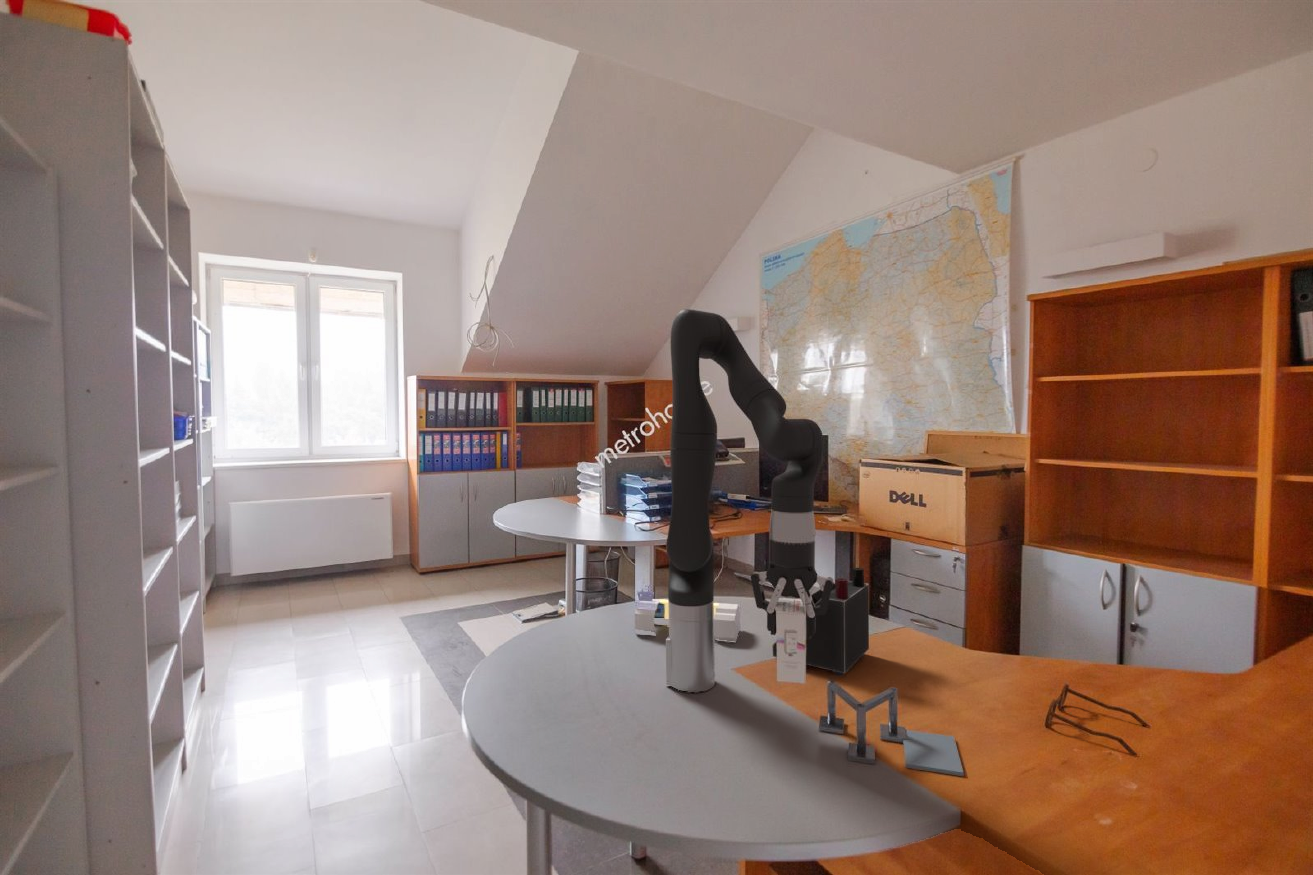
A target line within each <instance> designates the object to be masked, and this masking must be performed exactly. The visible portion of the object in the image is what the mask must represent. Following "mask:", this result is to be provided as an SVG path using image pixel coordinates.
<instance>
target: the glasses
mask: <svg viewBox="0 0 1313 875" xmlns="http://www.w3.org/2000/svg"><path fill="white" fill-rule="evenodd" d="M1068 693H1070V694H1072V695H1074V696H1076V697H1079V698H1081V699H1083V700H1086V701H1088V702H1090V703H1093V704H1094V705H1098V706H1099V707H1102V708H1104V709H1107V710H1112V711H1116V712H1120V713H1123V714H1126V715H1130V716H1131V717H1132V718H1133V719H1135V720H1136V721H1137V722H1138V723H1139V724H1141V726H1143V725H1144V726H1143V727H1145V726H1148V727H1151V725H1149V724H1148V723H1147V722H1146V721H1145V720H1143V719H1142V718H1141V717H1140V716H1139V715H1137V714H1136V713H1135V712H1133V711H1131V710H1129V709H1125V708H1123V707H1120V706H1114V705H1110V704H1107V703H1104V702H1102V701H1099V700H1098V699H1095V698H1093V697H1090V696H1088V695H1086V694H1083V693H1081V692H1078V691H1077V690H1073V689H1071V688H1070V686H1069V684H1068V683H1065V684H1064V686H1063V688H1062V690H1061V693H1060V694H1059V695H1058V696H1057V698H1056V699H1052V701H1051V703H1050V705H1049V707H1048V710H1047V714H1046V717H1045V722H1044V726H1045V727H1047V728H1048V727H1049V726H1050V725H1051V723H1052V721H1053V719H1054V718H1055V719H1057V720H1058V721H1061V722H1063V723H1065V724H1068V725H1069V726H1072V727H1075V728H1076V729H1079V730H1081V731H1083V732H1086V733H1088V734H1090V735H1092V736H1096V737H1104V738H1108V739H1110V740H1114V741H1117V742H1118V743H1119V744H1120V745H1121V746H1122V748H1124V749H1125V750H1126V751H1127V752H1128V753H1129V754H1130V753H1131V754H1134V755H1138V754H1137V752H1135V750H1133V748H1132V747H1131V746H1129V744H1128V743H1127V742H1126V741H1125V740H1123V739H1122V738H1121V737H1119V736H1115V735H1114V734H1111V733H1107V732H1102V731H1096V730H1093V729H1091V728H1089V727H1086V726H1085V725H1082V724H1080V723H1077V722H1076V721H1073V720H1071V719H1069V718H1066V717H1064V716H1062V715H1060V714H1057V713H1056V710H1061V709H1062V708H1063V707H1064V706H1065V705H1064V704H1065V702H1066V699H1067V696H1068ZM1056 708H1057V709H1056ZM1148 727H1147V728H1148ZM1131 754H1130V755H1131ZM1134 755H1133V756H1134Z"/></svg>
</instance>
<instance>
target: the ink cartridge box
mask: <svg viewBox="0 0 1313 875" xmlns="http://www.w3.org/2000/svg"><path fill="white" fill-rule="evenodd" d="M803 599H804V605H803V603H802V601H801V598H790V597H789V598H787V597H780V599H779V601H778V603H777V606H776V608H775V610H776V634H775V635H776V641H777V657H776V682H781V683H782V682H784V683H793V684H794V683H796V684H806V682H807V681H806V677H807V676H806V675H807V674H806V673H807V664H806V608H805V595H804V592H803Z"/></svg>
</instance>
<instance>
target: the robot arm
mask: <svg viewBox="0 0 1313 875" xmlns="http://www.w3.org/2000/svg"><path fill="white" fill-rule="evenodd" d="M700 359H704V360H712V361H714V362H715V363H716V364H717V365H718V366H720V368H722V369H723V371H724V372H725V373H726V376H727V382H728V390H729V394H730V396H731V398H732V399H733V401H734V403H735V404H736V406H738V408H739V409H740V410H741V412H742V413H743V414H744V415H745V416H746V418H747V419H748V420H749V422H751V425H752V428H753V430H754V433H755V435H756V437H757V441H758V442H759V445H760V447H761V449H762V451H763V452H764V453H765V454H766V455H767V456H768V457H770V458H771V459H773V460H775V461H779V462H788V463H787V465H786V470H785V471H784V472H783V473H781V474H778V475H776V476H775V477H774V478H773V479H772V482H771V503H770V504H771V505H770V506H771V508H770V509H771V511H770V516H769V517H770V518H769V546H768V547H769V551H768V552H769V553H768V554H769V559H768V560H769V562H768V564H769V566H768V568H767V570H766V571H759V570H755V571H754V572H753V573H752V574H751V575H750V581H751V586H752V589H753V590H752V591H753V595H754V601H755V605H756V608H757V609H760V610H763V611H765V612H766V624H767V625H766V630H767V631H768V632H770V635H771V636H775V635H776V607H777V603H778V601H779V599H780V598H787V597H792V598H794V599H801V601H802V603H803V605H804V599H803V592H804V595H805V608H806V612H807V617H806V639H811V636H814V634H815V631H816V616H818V615H825V614H826V611H827V607H828V603H829V598H830V594H831V590H832V586H833V582H834V578H832V577H831V576H829V577H828V576H827V577H824V576H821V575H818V573H817V571H816V567H815V564H816V563H815V562H816V535H817V534H816V533H817V532H816V523H815V522H816V520H815V512H814V509H815V508H814V506H815V504H814V503H815V502H814V499H815V498H814V497H815V496H814V495H815V494H814V493H815V491H814V487H815V484H816V480H817V477H818V473H819V469H820V466H821V461H822V457H823V452H824V447H825V446H824V445H825V444H824V443H825V440H824V436H823V432H822V430H821V428H820V426H819V424H818V423H817V422H816V421H814V420H812V419H809V418H786V417H785V416H784V415H785V414H786V412H787V404H786V400H785V399H784V397H783V396H782V394H780V392H779V391H778V390H777V389H776V388H775V387H774V385H773V384H772V383H771V382H769V380H768V379H767V378H766V377H765V376H764V374H763V373H762V372H761V371H760V370H759V369H758V368H757V366H756V364H754V362H753V361H752V359H751V357H750V356H749V354H748V353H747V351H746V349H745V348H744V346H743V344H742V343H741V341H740V340H739V337H738V336H737V334H736V332H735V331H734V330H733V327H731V324H730V323H729V321H727V319H726V318H725V317H724V316H722V315H720V314H718V313H715V312H709V311H702V310H697V309H696V310H695V309H689V308H688V309H687V308H686V309H682V310H680V311H679V312H678V313H677V314H676V316H674V319H673V322H672V325H671V330H670V360H671V375H672V376H671V377H672V378H671V379H672V380H671V381H672V405H671V406H672V411H671V413H672V414H671V427H670V428H671V429H670V481H671V498H672V499H671V510H670V518H669V525H668V526H669V527H668V532H667V538H666V543H665V550H666V554H667V558H668V562H669V563H668V565H669V566H668V568H669V570H668V571H669V573H668V585H667V592H668V593H667V596H668V597H667V600H668V612H669V626H668V636H667V638H666V639H665V672H666V673H665V676H666V678H665V681H666V682H665V684H667V685H671V686H673V687H675V688H677V689H678V690H677V691H679V690H682V691H688V692H687V693H691V692H694V693H700V692H699V691H703V692H706V691H708V690H711V689H713V687H714V686H715V684H716V683H715V680H716V679H715V678H716V672H715V664H716V663H715V638H714V603H715V601H714V599H715V598H714V597H715V596H714V589H715V588H714V586H715V585H714V583H715V567H714V564H715V562H714V558H715V557H714V555H715V554H714V553H715V552H714V550H715V549H714V548H715V547H714V535H713V533H712V531H711V529H710V526H711V525H710V498H711V491H712V485H713V480H714V475H715V474H714V473H715V468H716V467H715V466H716V459H717V451H718V450H717V448H718V423H717V419H716V417H715V414H714V412H713V409H712V407H711V405H710V403H709V401H708V398H707V397H706V395H705V392H704V389H703V387H702V383H701V376H700V375H701V374H700ZM766 579H767V580H768V581H769V582H770V584H771V586H772V587H773V589H774V591H773V594H772V595H771V597H770V600H769V601H768V600H766V597H765V592H764V584H765V582H766ZM816 583H817V584H818V588H819V590H821V591H823V594H822V599H821V603H820V605H819V606H815V605H814V603H813V600H812V596H811V595H812V594H811V591H810V590H811V589H812V587H813V586H814V585H815V584H816ZM682 691H681V692H682Z"/></svg>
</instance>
